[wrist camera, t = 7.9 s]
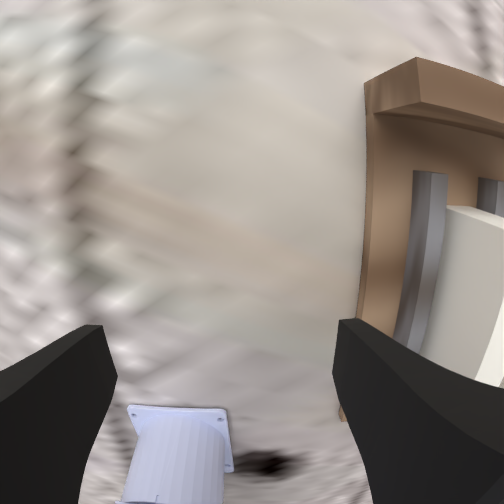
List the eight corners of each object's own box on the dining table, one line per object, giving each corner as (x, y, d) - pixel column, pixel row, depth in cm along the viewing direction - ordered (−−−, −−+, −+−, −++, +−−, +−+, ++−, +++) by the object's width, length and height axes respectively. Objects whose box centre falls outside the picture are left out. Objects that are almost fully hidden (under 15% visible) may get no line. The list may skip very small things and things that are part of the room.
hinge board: (453, 386, 22) (483, 426, 17) (338, 413, 22) (357, 469, 16) (501, 115, 15) (558, 114, 9) (363, 83, 15) (416, 57, 9)
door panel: (453, 337, 19) (503, 390, 13) (412, 345, 19) (460, 409, 12) (479, 206, 16) (554, 234, 10) (436, 204, 16) (516, 234, 9)
